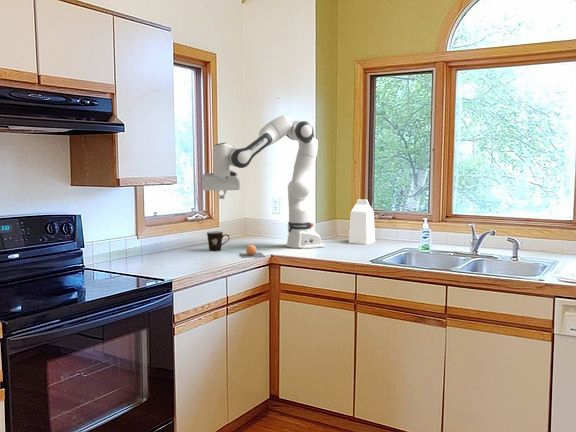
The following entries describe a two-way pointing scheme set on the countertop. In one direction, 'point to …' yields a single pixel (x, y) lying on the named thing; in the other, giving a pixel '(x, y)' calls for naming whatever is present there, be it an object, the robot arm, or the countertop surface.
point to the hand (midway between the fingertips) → (221, 198)
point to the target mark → (245, 255)
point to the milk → (362, 223)
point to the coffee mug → (215, 240)
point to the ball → (251, 250)
